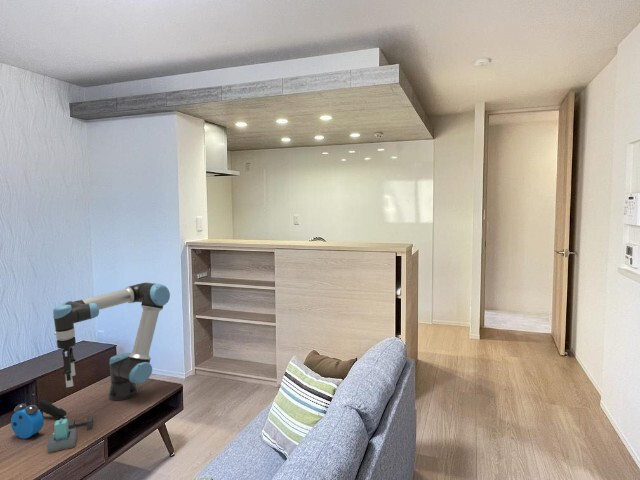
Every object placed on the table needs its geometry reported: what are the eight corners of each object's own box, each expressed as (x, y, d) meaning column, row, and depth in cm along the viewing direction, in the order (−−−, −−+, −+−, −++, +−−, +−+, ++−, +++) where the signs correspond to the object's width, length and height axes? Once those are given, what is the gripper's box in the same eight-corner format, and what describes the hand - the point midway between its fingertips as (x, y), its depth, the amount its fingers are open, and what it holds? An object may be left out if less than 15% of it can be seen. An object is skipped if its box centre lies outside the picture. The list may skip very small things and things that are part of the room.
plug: (69, 439, 190) (67, 416, 189) (67, 444, 186) (65, 421, 185) (58, 441, 189) (56, 418, 188) (56, 446, 185) (54, 423, 184)
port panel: (77, 436, 194) (76, 427, 194) (74, 447, 185) (73, 438, 185) (51, 441, 190) (51, 432, 190) (47, 453, 181) (47, 443, 181)
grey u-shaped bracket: (93, 422, 207) (92, 414, 206) (91, 428, 200) (91, 420, 200) (71, 426, 203) (70, 418, 202) (69, 433, 196) (68, 425, 196)
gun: (59, 431, 210) (65, 414, 208) (33, 414, 212) (40, 398, 210) (63, 428, 212) (70, 412, 211) (38, 412, 215) (44, 396, 213)
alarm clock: (45, 433, 197) (42, 403, 196) (33, 441, 191) (30, 409, 190) (23, 430, 200) (20, 400, 199) (11, 437, 194) (8, 406, 193)
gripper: (59, 332, 206) (64, 373, 209) (53, 347, 184) (59, 393, 187) (76, 329, 210) (81, 369, 212) (72, 344, 187) (78, 389, 190)
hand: (71, 380), depth 199 cm, fingers open, 13 cm apart
